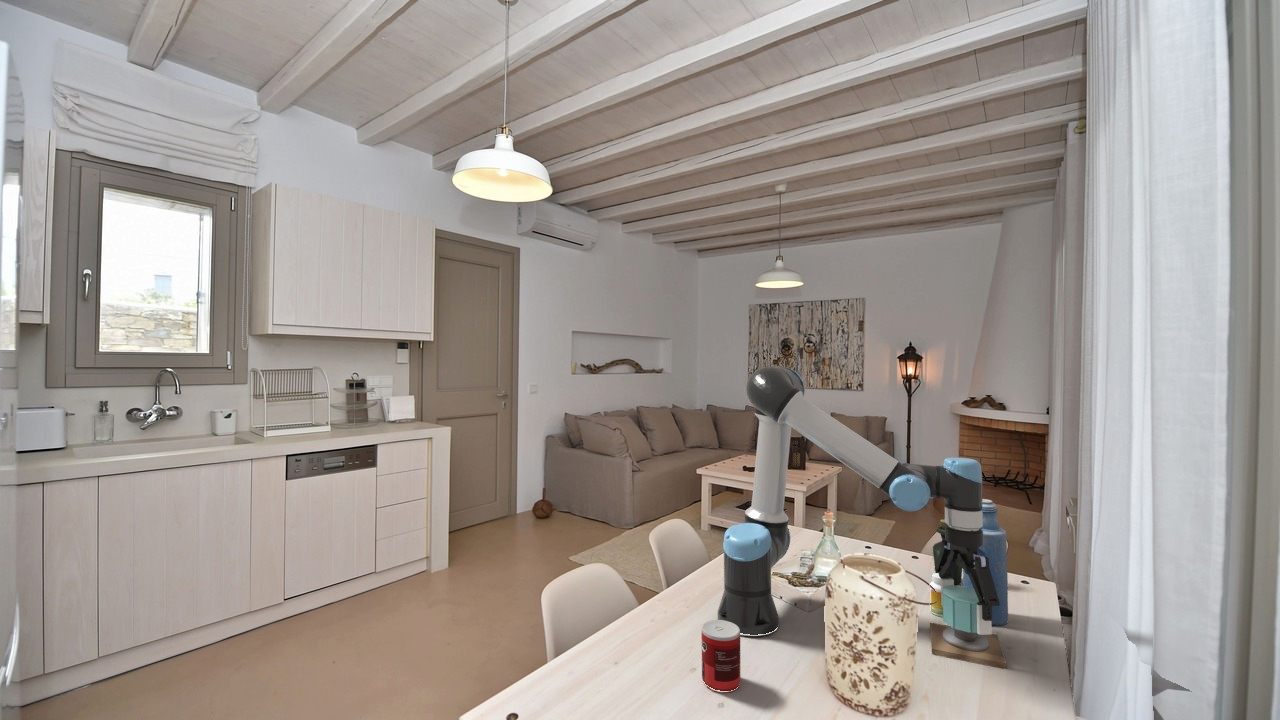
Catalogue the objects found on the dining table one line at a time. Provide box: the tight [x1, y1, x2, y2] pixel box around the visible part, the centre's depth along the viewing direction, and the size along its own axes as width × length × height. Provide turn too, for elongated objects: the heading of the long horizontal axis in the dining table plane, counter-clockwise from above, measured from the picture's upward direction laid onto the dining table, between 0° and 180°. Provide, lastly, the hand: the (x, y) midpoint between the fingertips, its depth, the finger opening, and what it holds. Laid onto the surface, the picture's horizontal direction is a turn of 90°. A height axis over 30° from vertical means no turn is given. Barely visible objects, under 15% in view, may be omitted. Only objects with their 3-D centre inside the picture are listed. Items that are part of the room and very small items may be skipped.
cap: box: [942, 585, 984, 633], centre depth 125 cm, size 9×9×7 cm
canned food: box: [701, 619, 741, 691], centre depth 111 cm, size 8×8×11 cm
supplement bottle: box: [929, 572, 950, 618], centre depth 142 cm, size 5×5×10 cm
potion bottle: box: [932, 518, 963, 586], centre depth 163 cm, size 8×8×18 cm
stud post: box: [929, 622, 1008, 670], centre depth 125 cm, size 14×14×12 cm
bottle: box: [962, 498, 1009, 627], centre depth 139 cm, size 10×10×30 cm
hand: (965, 619), depth 125 cm, fingers open, 13 cm apart
